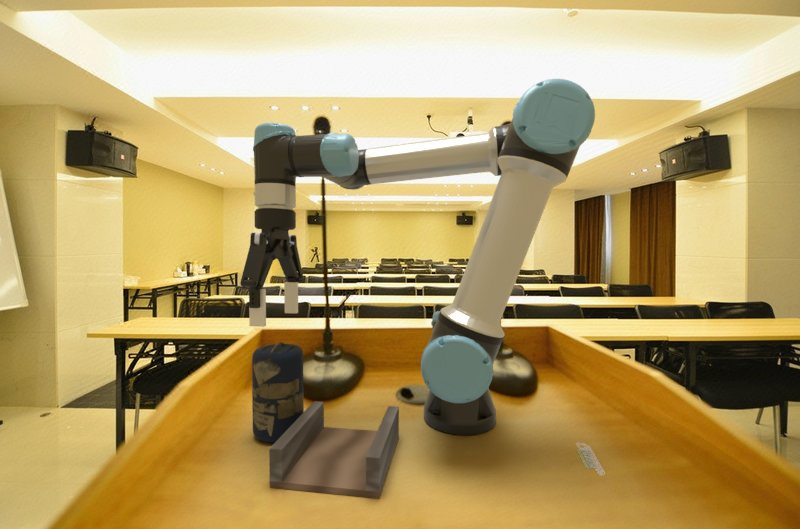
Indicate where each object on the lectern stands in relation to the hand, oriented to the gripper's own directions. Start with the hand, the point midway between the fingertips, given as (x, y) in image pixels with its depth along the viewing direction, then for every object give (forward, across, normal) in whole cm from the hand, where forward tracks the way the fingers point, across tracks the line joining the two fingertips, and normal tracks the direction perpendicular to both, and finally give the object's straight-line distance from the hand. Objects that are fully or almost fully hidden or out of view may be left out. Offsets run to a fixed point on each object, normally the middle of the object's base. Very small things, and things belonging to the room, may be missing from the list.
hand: (276, 319), depth 73 cm
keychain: (+23, 0, +57) cm, 62 cm away
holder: (+22, +7, +15) cm, 28 cm away
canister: (+23, 0, 0) cm, 23 cm away
